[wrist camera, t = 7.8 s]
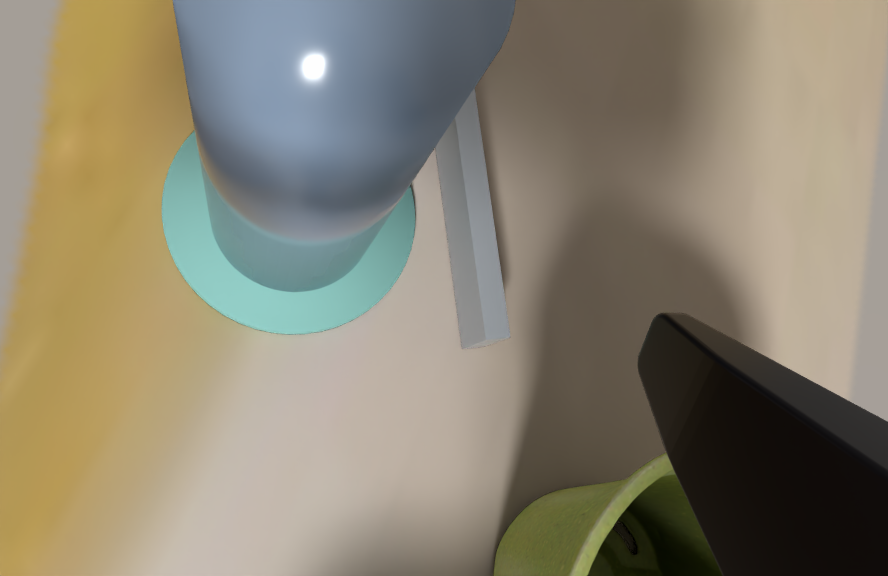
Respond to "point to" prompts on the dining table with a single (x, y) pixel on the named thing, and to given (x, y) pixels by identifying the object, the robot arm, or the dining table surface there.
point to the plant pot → (609, 531)
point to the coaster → (259, 303)
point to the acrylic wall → (471, 231)
